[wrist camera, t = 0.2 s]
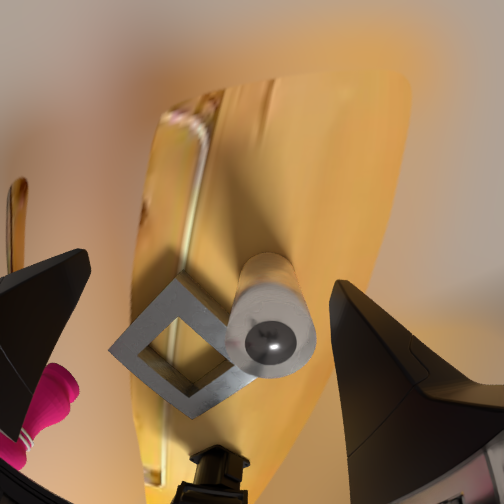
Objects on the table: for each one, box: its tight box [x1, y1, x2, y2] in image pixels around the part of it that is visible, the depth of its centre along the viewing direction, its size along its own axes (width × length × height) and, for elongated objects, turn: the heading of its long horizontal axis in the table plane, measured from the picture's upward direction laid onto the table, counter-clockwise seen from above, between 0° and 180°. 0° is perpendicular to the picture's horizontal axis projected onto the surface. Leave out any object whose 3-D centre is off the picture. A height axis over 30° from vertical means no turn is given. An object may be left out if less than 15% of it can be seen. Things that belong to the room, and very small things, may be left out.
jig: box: [108, 270, 257, 419], centre depth 26 cm, size 12×12×2 cm
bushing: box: [225, 252, 317, 378], centre depth 20 cm, size 5×5×11 cm
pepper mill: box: [0, 363, 79, 470], centre depth 21 cm, size 7×7×20 cm
